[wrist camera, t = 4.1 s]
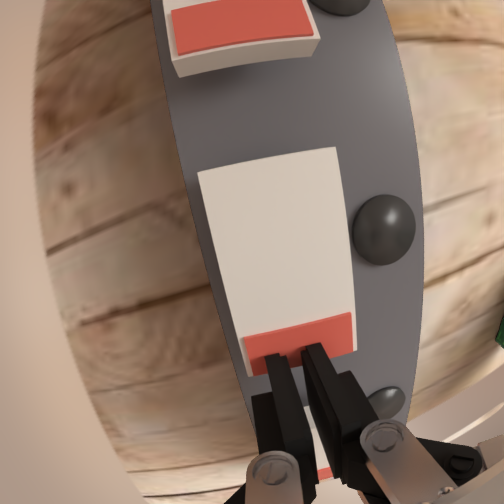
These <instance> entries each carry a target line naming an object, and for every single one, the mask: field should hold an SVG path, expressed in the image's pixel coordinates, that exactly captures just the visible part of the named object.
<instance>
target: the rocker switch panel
mask: <svg viewBox="0 0 504 504" xmlns="http://www.w3.org/2000/svg"><path fill="white" fill-rule="evenodd" d="M306 1H307V3H308V6H309V8H310V11H311V13H312V16H313V19H314V21H315V24H316V27H317V29H318V32H319V35H320V38H321V39H320V41H319V43H318V45H317V47H316V49H315V50H314V52H313V54H312V56H311V57H299V58H289V59H280V60H272V61H264V62H257V63H250V64H244V65H238V66H232V67H227V68H222V69H217V70H212V71H207V72H202V73H198V74H194V75H189V76H185V77H181V78H179V76H178V74H177V72H176V70H175V67H174V65H173V63H172V60H171V54H170V48H169V41H168V35H167V28H166V21H165V14H164V7H163V0H150V3H151V9H152V16H153V22H154V29H155V35H156V41H157V47H158V53H159V58H160V64H161V70H162V75H163V80H164V86H165V91H166V96H167V101H168V106H169V111H170V116H171V121H172V126H173V131H174V136H175V140H176V145H177V150H178V154H179V159H180V163H181V168H182V172H183V177H184V181H185V185H186V190H187V194H188V198H189V202H190V206H191V211H192V215H193V219H194V223H195V227H196V231H197V235H198V239H199V243H200V247H201V251H202V255H203V258H204V262H205V266H206V270H207V274H208V277H209V281H210V285H211V288H212V292H213V296H214V299H215V303H216V307H217V310H218V314H219V317H220V321H221V324H222V328H223V331H224V335H225V338H226V341H227V345H228V348H229V352H230V355H231V358H232V362H233V365H234V368H235V371H236V375H237V378H238V381H239V384H240V387H241V391H242V394H243V397H244V400H245V403H246V406H247V409H248V412H249V416H250V419H251V422H252V425H253V428H254V431H255V434H256V429H255V422H254V415H253V408H252V402H251V396H253V395H258V394H262V393H267V392H271V391H272V388H271V384H270V380H269V375H268V374H263V375H258V376H251V377H248V374H247V371H246V367H245V364H244V360H243V356H242V353H241V349H240V345H239V342H238V338H237V334H236V330H235V327H234V323H233V319H232V315H231V311H230V307H229V304H228V300H227V296H226V292H225V288H224V284H223V280H222V276H221V272H220V268H219V264H218V260H217V256H216V252H215V247H214V243H213V239H212V235H211V231H210V226H209V222H208V218H207V214H206V209H205V205H204V201H203V196H202V192H201V187H200V183H199V178H198V174H197V172H200V171H204V170H208V169H213V168H217V167H222V166H226V165H231V164H236V163H241V162H245V161H250V160H256V159H261V158H266V157H271V156H277V155H283V154H288V153H294V152H300V151H306V150H313V149H319V148H327V147H336V151H337V157H338V163H339V169H340V175H341V182H342V188H343V195H344V202H345V209H346V217H347V225H348V233H349V242H350V251H351V261H352V272H353V284H354V298H355V313H356V332H357V350H356V351H353V352H351V353H348V354H344V355H341V356H337V357H334V358H330V361H331V363H332V365H333V367H334V368H335V370H336V372H337V374H339V373H342V372H345V371H348V370H350V371H351V372H352V373H353V375H354V376H355V378H356V380H357V381H358V383H359V385H360V387H361V388H362V390H363V392H364V393H365V395H366V397H367V399H368V400H369V402H370V404H371V405H372V407H373V409H374V411H375V412H376V414H377V416H378V418H379V419H380V420H381V419H393V420H397V421H399V422H401V423H402V424H404V425H405V426H406V422H407V418H408V413H409V408H410V403H411V397H412V391H413V385H414V379H415V373H416V366H417V358H418V350H419V341H420V331H421V319H422V305H423V284H424V225H423V204H422V190H421V178H420V168H419V159H418V151H417V143H416V136H415V130H414V123H413V118H412V112H411V106H410V101H409V96H408V91H407V86H406V82H405V77H404V73H403V69H402V65H401V61H400V57H399V53H398V49H397V46H396V42H395V39H394V35H393V32H392V29H391V25H390V22H389V19H388V16H387V13H386V10H385V7H384V4H383V1H382V0H306ZM290 369H291V372H292V375H293V378H294V380H295V383H296V386H297V389H298V392H299V395H300V398H301V401H302V404H303V407H305V406H309V404H308V398H307V392H306V385H305V379H304V372H303V366H299V367H295V368H290ZM256 437H257V436H256Z"/></svg>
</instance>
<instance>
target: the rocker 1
mask: <svg viewBox="0 0 504 504" xmlns="http://www.w3.org/2000/svg"><path fill="white" fill-rule="evenodd" d="M163 7H164V14H165V21H166V28H167V35H168V41H169V48H170V54H171V60H172V63H173V65H174V67H175V70H176V72H177V74H178V76H179V78H181V77H185V76H189V75H194V74H198V73H202V72H207V71H212V70H217V69H222V68H227V67H232V66H238V65H244V64H250V63H257V62H264V61H272V60H280V59H289V58H299V57H311V56H312V54H313V52H314V50H315V49H316V47H317V45H318V43H319V41H320V39H321V38H320V35H319V32H318V29H317V27H316V24H315V21H314V19H313V16H312V13H311V11H310V8H309V6H308V3H307V1H306V0H163Z"/></svg>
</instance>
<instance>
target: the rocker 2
mask: <svg viewBox="0 0 504 504" xmlns="http://www.w3.org/2000/svg"><path fill="white" fill-rule="evenodd" d="M197 174H198V178H199V183H200V187H201V192H202V196H203V201H204V205H205V209H206V214H207V218H208V222H209V226H210V231H211V235H212V239H213V243H214V247H215V252H216V256H217V260H218V264H219V268H220V272H221V276H222V280H223V284H224V288H225V292H226V296H227V300H228V304H229V307H230V311H231V315H232V319H233V323H234V327H235V330H236V334H237V338H238V342H239V345H240V349H241V353H242V356H243V360H244V364H245V367H246V371H247V374H248V377H251V376H258V375H263V374H268V371H267V367H266V362H265V358H264V356H267V355H272V354H276V353H279V354H280V357H281V356H285V355H286V357H287V360H288V363H289V366H290V368H295V367H299V366H302V360H301V353H300V352H301V351H304V350H306V347H305V346H307V345H311V344H315V343H319V342H321V344H322V346H323V348H324V349H325V351H326V353H327V355H328V357H329V359H330V358H334V357H337V356H341V355H344V354H348V353H351V352H353V351H356V350H357V332H356V313H355V298H354V284H353V272H352V261H351V251H350V242H349V233H348V225H347V217H346V209H345V202H344V195H343V188H342V182H341V175H340V169H339V163H338V157H337V151H336V147H327V148H319V149H313V150H306V151H300V152H294V153H288V154H283V155H277V156H271V157H266V158H261V159H256V160H250V161H245V162H241V163H236V164H231V165H226V166H222V167H217V168H213V169H208V170H204V171H200V172H197Z"/></svg>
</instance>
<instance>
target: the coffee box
mask: <svg viewBox="0 0 504 504" xmlns="http://www.w3.org/2000/svg"><path fill="white" fill-rule="evenodd" d="M495 341H496V342H497V343H498V344H499V345H501V347H502V348H503V349H504V318H503V320H502V322H501V325H500V329H499V332H498V335H497V337H496V339H495Z"/></svg>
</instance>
